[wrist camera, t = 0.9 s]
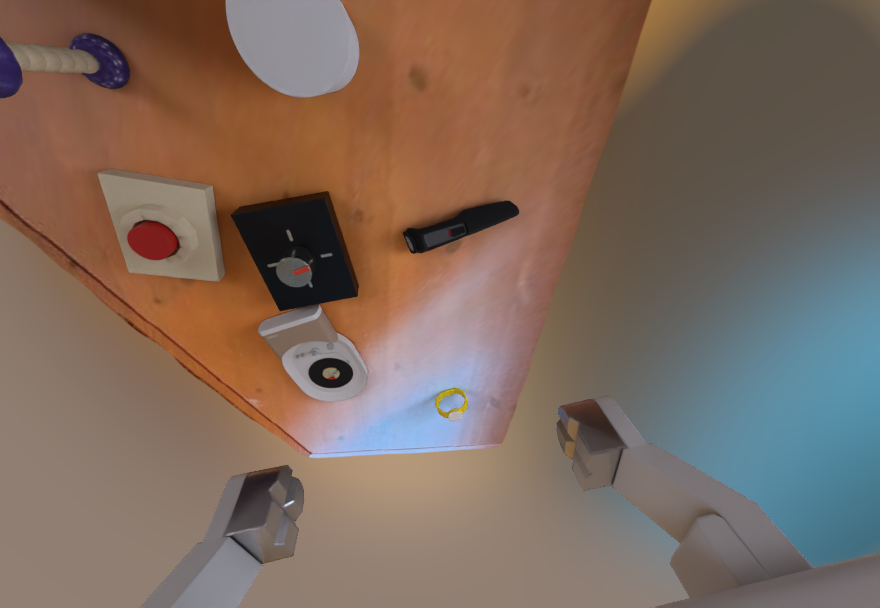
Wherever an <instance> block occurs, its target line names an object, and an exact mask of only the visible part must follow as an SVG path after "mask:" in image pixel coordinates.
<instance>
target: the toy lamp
mask: <svg viewBox="0 0 880 608" xmlns="http://www.w3.org/2000/svg"><path fill="white" fill-rule="evenodd" d="M24 70H26V71H30V72H39V71H44V72H56V71H57V72H60V73H69V72H72V73H82V74H83V75H84V76H85V77H86V78H88V79H89V80H90V81H92V82H94V83H96V84H98V85H100V86H103V87H106V88H111V89H117V88H121V87H123V86H124V85H125V84H126V83H127V82H128V79H129V76H130V73H129V67H128V64H127V62H126V59H125V58H124V56H123V54H122V53H121V52H120V51H119V49H118V48H117V47H116V46H114V45H113V44H112V43H111V42H109V41H108V40H106V39H104V38H103V37H100V36H98V35H94V34H82V35H79V36H77V37H75V38H74V39H73V40H72V42H71V44H70V49H68V48H57V47H53V46H41V45H37V44H29V45H26V44H23V43H7V42H4V41H3V40H2V38H1V37H0V98H6V97H10V96H12V95H14V94H16V92H18V90H19V89H20V86H21V84H22V81H23V78H22V72H21V71H24Z"/></svg>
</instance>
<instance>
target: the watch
mask: <svg viewBox="0 0 880 608" xmlns="http://www.w3.org/2000/svg"><path fill="white" fill-rule="evenodd" d="M455 393H456V394H460V395H462V396H463V397H464V398H465V401H464V404H463V406H462V407H461V408H460V409H458V408H455V409H452V410H450V411H449V412H448V413H447V412H443V411H442V410H440V409H439V404H440V401H441V400H442V398H443V397H446V396H449V395H452V394H455ZM435 405H436V407H437V410H438V412H439V414H440V415H441V416H443V417H445V418H448V419H449V420H450V421H457V420H459V419H461V418H462V416H463V413H464V412H465V411H466V409H467V406H468V401H467V397H466V394H465V393H464V392H463V391H462V390H460V389H457V388H453V389H450V390H447V391H444V392H441V393H440V394H439V395H438V397H437V398H436V403H435Z"/></svg>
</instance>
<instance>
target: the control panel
mask: <svg viewBox="0 0 880 608" xmlns="http://www.w3.org/2000/svg"><path fill="white" fill-rule="evenodd" d="M231 217H232V219H233V221H234V222H235V224H236V226H237V228H238V230H239V232H240V234H241V236H242V238H243V240H244V242H245V244H246V246H247V248H248V250H249V252H250V254H251V256H252V258H253V260H254V262H255V264H256V266H257V267H258V269H259V271H260V273H261V275H262V277H263V279H264V281H265V283H266V285H267V287H268V289H269V291H270V293H271V295H272V297H273V299H274V301H275V303H276V305H277V307H278V309H279V310H280V311H283V310H288V309H294V308H299V307H304V306H310V305H315V304H320V303H325V302H331V301H336V300H341V299H347V298H352V297H357V296H358V288H359V285H358V282H357V279H356V276H355V273H354V269H353V266H352V263H351V260H350V257H349V254H348V251H347V248H346V245H345V242H344V238H343V235H342V232H341V229H340V226H339V223H338V220H337V217H336V214H335V211H334V207H333V204H332V201H331V198H330V195H329V192H328V191H327V192H322V193H316V194H310V195H304V196H299V197H293V198H287V199H282V200H276V201H270V202H265V203H259V204H253V205H247V206H242V207H239V208H238V209H237V210H236V211H234V212H233V213H232V214H231ZM292 246H303V247H306V248H308V249H309V250H311V251H312V252H313V254H314V255H315V257H316V261H317V263H316V267H315V270H314V272H313V275H312V278H311V280H310V282H309V283H308V284H306V285H304V286H302V287H292V286H288V285H286V284H285V283H283V282H282V281H281V280H280V279H279V277H278V276H277V273H276V267H277V265H278V263H279V261H280V259H281V258H282V256H283V254H284V253H285V251H286V250H287V249H288V248H290V247H292Z"/></svg>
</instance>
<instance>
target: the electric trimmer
mask: <svg viewBox="0 0 880 608" xmlns="http://www.w3.org/2000/svg"><path fill="white" fill-rule="evenodd" d="M518 214H519V209H518V208H517V206H516V205H514V204H513V203H512V202H510V201H503V202H497V203H493V204H488V205H483V206H479V207H474V208H470V209H466V210H463V211H462V212H461V213H460V214H459V215H457V216H456V217H454V218H452V219H449V220H447V221H444V222H441V223H438V224H435V225H432V226H429V227H425V228H422V229H414V228H408V229H407V231H405V232H403V235H404V237H405V240H406V243H407V245H408V248H409V250H410V252H411V253H413V254H414V253H423V252H426V251H429V250H432V249H435V248H437V247H440V246H442V245H445V244H448V243H450V242H453V241H455V240H458V239H460V238H462V237H465V236H468V235H471V234H474V233H476V232H479V231H481V230H484V229H486V228H488V227H491V226H493V225H496V224H498V223H501V222H503V221H506V220H508V219H510V218H513V217H515V216H517V215H518Z"/></svg>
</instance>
